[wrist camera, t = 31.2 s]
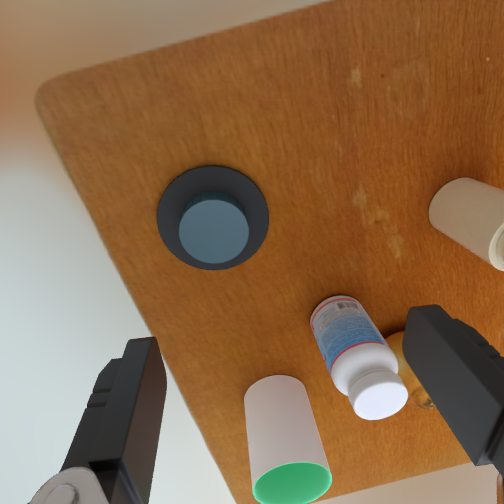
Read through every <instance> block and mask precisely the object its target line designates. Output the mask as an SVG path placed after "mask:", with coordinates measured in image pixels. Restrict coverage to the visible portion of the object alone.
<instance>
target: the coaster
mask: <svg viewBox="0 0 504 504" xmlns="http://www.w3.org/2000/svg"><path fill="white" fill-rule="evenodd" d="M215 191H216V192H222V193H225V194H228V195H230V196H232V197H233V198H235V199H236V200H238V202H239V203H240V204H241V206H242V207H243V209H245V213H246V218H247V219H248V223H249V237H248V241H247V243H246V246H245V247H244V249H243V250H242V251H241V253H239V254H238V255H237V256H236V257H234V258H233V259H231V260H229V261H226V262H223V263H206V262H202V261H199V260H197V259H195V258H194V257H192V256H191V255H190V254H189V253H188V252H187V251H186V250H185V249H184V247H183V246H182V244H181V241H180V238H179V225H180V224H179V220H180V216H182V213H183V210H184V206H186V205H187V204H188V202H189V201H190V200H191V199H192V198H194V197H196V196H197V195H199V194H202V193H203V192H204V193H205V192H215ZM157 223H158V229H159V232H160V235H161V238H162V240H163V242H164V243H165V245H166V246H167V248H168V249H169V250H170V251H171V252H172V253H173V254H174V255H175V256H176V257H177V258H178V259H180V260H181V261H183V262H185V263H186V264H188V265H191V266H193V267H196V268H200V269H206V270H222V269H228V268H231V267H234V266H236V265H239V264H241V263H243V262H244V261H246V260H247V259H249V258H250V257H251V256H252V255H253V254H254V253H255V252H256V251H257V250H258V249H259V247H260V246H261V244H262V243H263V241H264V239H265V237H266V234H267V230H268V224H269V213H268V208H267V204H266V201H265V199H264V196H263V194H262V193H261V191H260V189H259V188H258V187H257V186H256V184H255V183H254V182H253V181H252V180H251V179H250V178H248V177H247V176H246V175H244V174H243V173H241V172H239V171H237V170H234V169H232V168H229V167H225V166H218V165H206V166H200V167H196V168H193V169H190V170H188V171H186V172H184V173H182V174H181V175H179V176H178V177H177V178H176V179H174V180H173V181H172V182H171V183H170V185H169V186H168V187H167V188H166V190H165V192H164V193H163V195H162V198H161V200H160V203H159V206H158V212H157Z"/></svg>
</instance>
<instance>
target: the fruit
mask: <svg viewBox="0 0 504 504" xmlns="http://www.w3.org/2000/svg"><path fill="white" fill-rule="evenodd" d="M403 336H404V331H402V332H398V333H395V334H392V335H390V336H389V337H387V338H386V339H385V341H386V343H387V344H388V346H389V347H390V348H391V350H392V352H393V353H394V355H395V357H396V359H397V362H398V373H397V375H398V376H399V377H400V378H401V380H402V382H403V384H404V385H405V387H406V389H407V391H408V399H407V401H406V404H410V405H414V406H417V407H420V408H422V409H427V410H429V409H433V408H435V407H436V406H435V404H434V403H433V401H432V400H431V398H430V397H429V395H428V394H427V392H426V391H425V389H424V388H423V386H422V385H421V383H420V382H419V380H418V379H417V377H416V375H415V374H414V372H413V371H412V369H411V368H410V366H409V365H408V363H407V362H406V360H405V357H404V354H403V350H402V340H403Z"/></svg>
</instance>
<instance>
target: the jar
mask: <svg viewBox="0 0 504 504" xmlns="http://www.w3.org/2000/svg"><path fill="white" fill-rule="evenodd" d="M429 220H430V222H431V224H432V226H433V227H434V228H435V229H437V230H438V231H440V232H441V233H443V234H444V235H446V236H447V237H449V238H451V239H452V240H454V241H455V242H457V243H458V244H460V245H461V246H463V247H464V248H466V249H467V250H469V251H470V252H472V253H473V254H475V255H476V256H478V257H479V258H481V259H483V260H484V261H486V262H487V263H489V264H490V265H492V266H493V267H495V268H496V269H498V270H501V271H504V190H503V189H500V188H498V187H495V186H492V185H490V184H487V183H484V182H481V181H479V180H476V179H473V178H468V177H464V178H458V179H455V180H453V181H451V182H449V183H447V184H446V185H444V186H443V187H442V188H441V189H440V190H439V191H438V192H437V193H436V194H435V196H434V197H433V199H432V201H431V204H430V207H429Z"/></svg>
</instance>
